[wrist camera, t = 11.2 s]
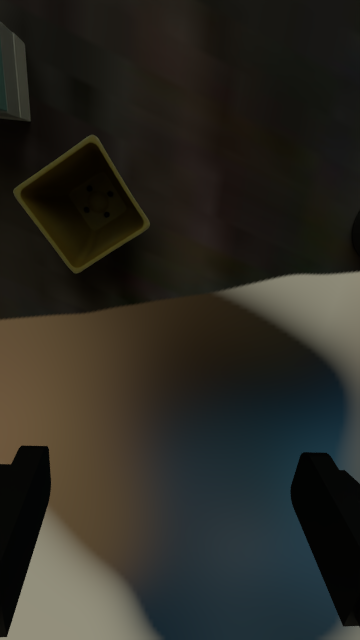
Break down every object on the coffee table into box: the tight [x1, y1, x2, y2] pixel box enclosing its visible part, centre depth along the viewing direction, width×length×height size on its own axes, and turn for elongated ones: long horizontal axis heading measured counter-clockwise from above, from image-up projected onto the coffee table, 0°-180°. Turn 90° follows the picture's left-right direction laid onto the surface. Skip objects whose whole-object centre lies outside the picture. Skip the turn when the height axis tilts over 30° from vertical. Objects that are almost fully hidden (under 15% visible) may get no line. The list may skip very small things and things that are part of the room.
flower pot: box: [13, 135, 150, 274], centre depth 34 cm, size 9×9×9 cm
